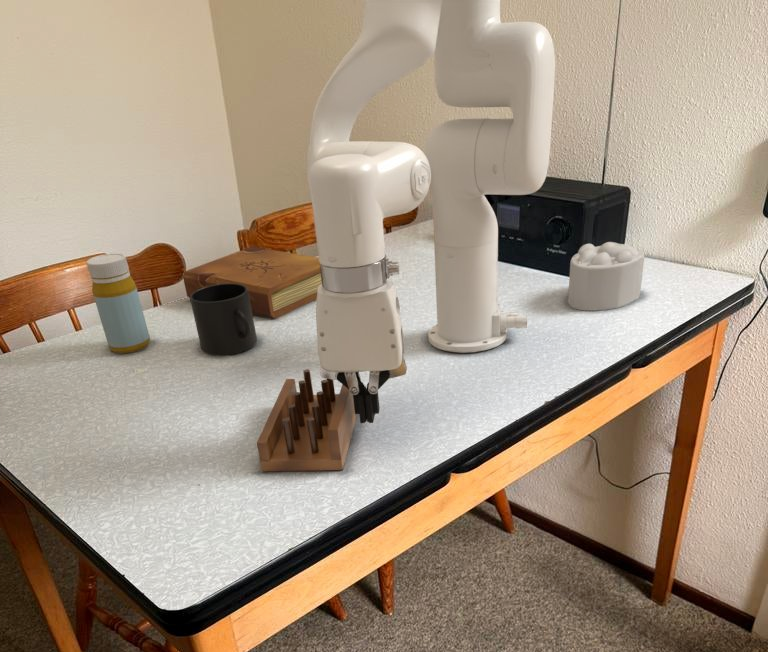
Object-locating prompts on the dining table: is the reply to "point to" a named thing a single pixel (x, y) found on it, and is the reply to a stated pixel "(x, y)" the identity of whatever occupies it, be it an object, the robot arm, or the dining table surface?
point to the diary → (262, 278)
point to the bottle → (118, 303)
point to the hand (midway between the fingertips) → (367, 418)
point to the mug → (224, 318)
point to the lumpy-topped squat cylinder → (605, 276)
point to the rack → (307, 428)
